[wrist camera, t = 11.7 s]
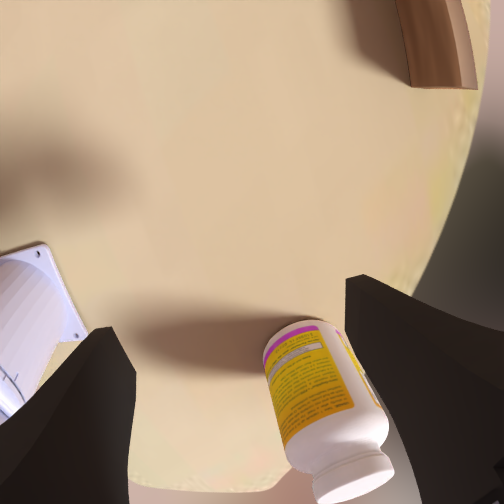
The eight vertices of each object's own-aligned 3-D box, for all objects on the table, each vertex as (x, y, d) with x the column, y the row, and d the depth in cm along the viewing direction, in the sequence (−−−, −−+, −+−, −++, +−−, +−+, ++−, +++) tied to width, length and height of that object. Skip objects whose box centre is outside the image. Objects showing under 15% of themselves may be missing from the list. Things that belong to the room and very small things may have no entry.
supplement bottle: (246, 367, 23) (275, 514, 12) (287, 305, 21) (351, 468, 10) (312, 380, 25) (358, 503, 14) (355, 327, 23) (430, 454, 12)
